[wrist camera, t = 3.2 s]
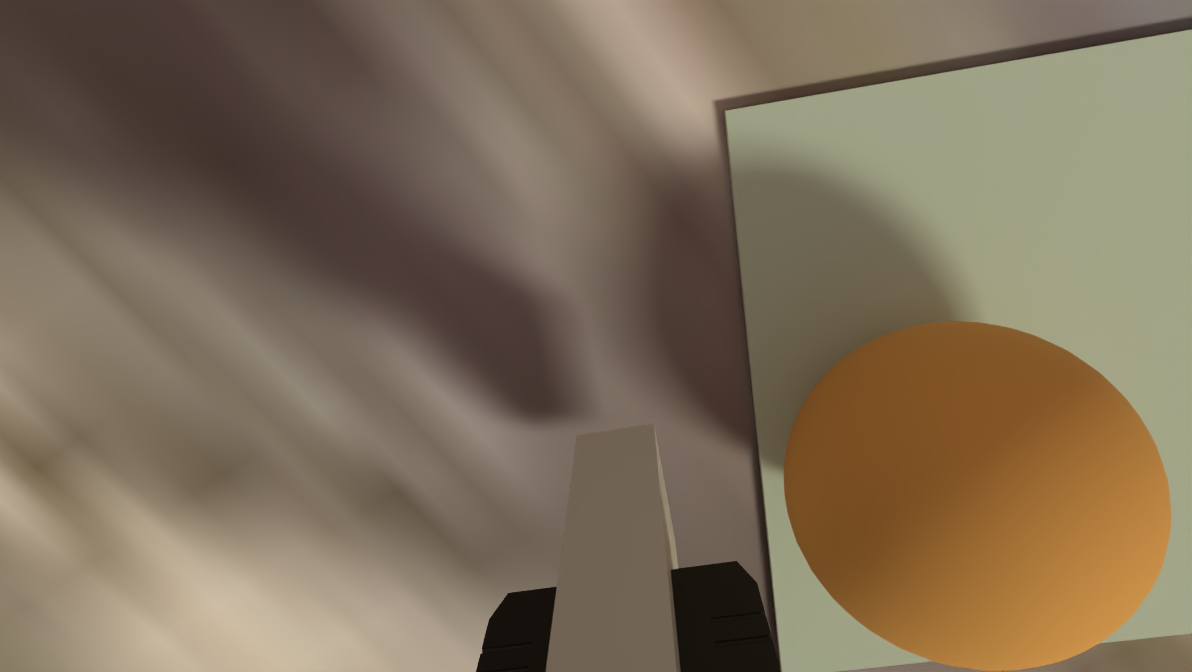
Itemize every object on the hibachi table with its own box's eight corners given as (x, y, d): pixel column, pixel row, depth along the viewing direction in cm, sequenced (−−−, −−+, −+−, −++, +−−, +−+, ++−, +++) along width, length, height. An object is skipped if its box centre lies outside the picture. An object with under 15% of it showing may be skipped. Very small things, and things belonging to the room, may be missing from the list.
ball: (767, 542, 16) (847, 778, 11) (743, 306, 14) (826, 442, 9) (1026, 510, 16) (1252, 739, 10) (1037, 262, 14) (1324, 376, 8)
